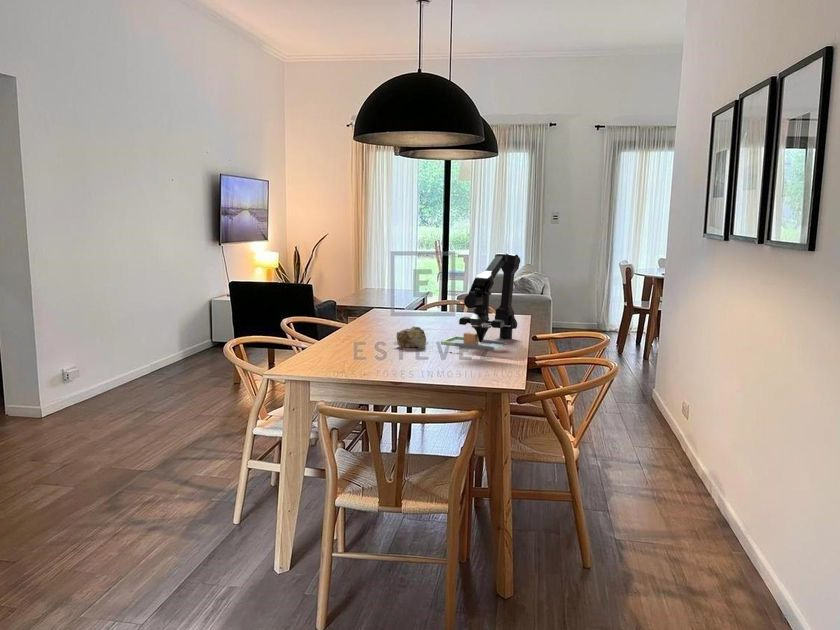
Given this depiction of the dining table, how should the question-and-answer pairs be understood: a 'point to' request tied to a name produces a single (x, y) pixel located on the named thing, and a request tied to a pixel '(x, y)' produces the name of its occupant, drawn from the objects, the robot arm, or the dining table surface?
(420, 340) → the rock
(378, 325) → the dining table surface
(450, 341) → the box
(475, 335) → the block
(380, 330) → the dining table surface
